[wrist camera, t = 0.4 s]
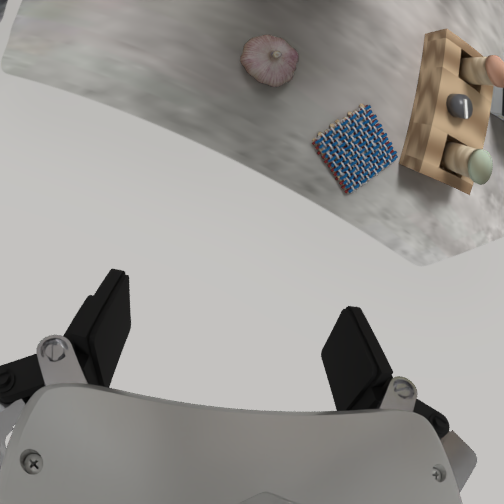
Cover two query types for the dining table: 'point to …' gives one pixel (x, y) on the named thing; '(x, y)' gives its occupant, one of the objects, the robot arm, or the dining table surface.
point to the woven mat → (355, 148)
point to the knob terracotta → (482, 71)
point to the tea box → (498, 102)
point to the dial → (459, 106)
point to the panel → (444, 110)
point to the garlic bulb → (269, 60)
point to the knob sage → (467, 161)
